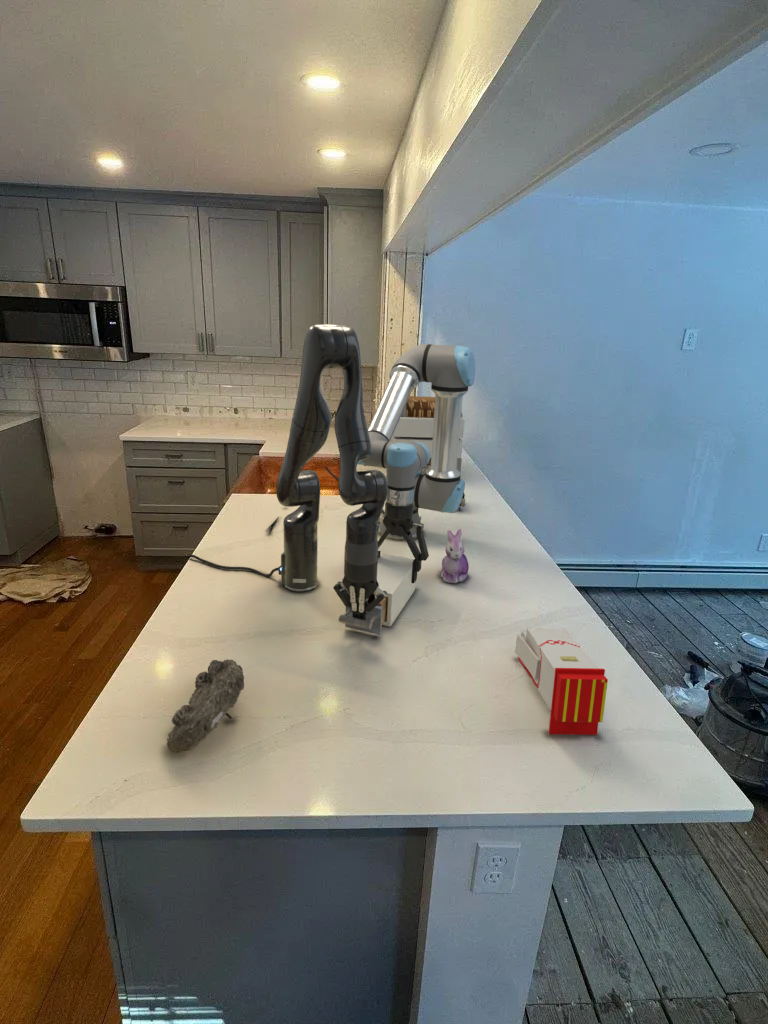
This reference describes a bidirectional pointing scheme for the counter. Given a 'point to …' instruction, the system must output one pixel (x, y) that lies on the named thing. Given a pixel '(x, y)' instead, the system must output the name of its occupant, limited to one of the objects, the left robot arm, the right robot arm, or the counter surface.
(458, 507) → the figurine character
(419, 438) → the transformer
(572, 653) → the toy
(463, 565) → the figurine
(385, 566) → the cabinet
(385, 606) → the drawer
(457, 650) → the counter surface
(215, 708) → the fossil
